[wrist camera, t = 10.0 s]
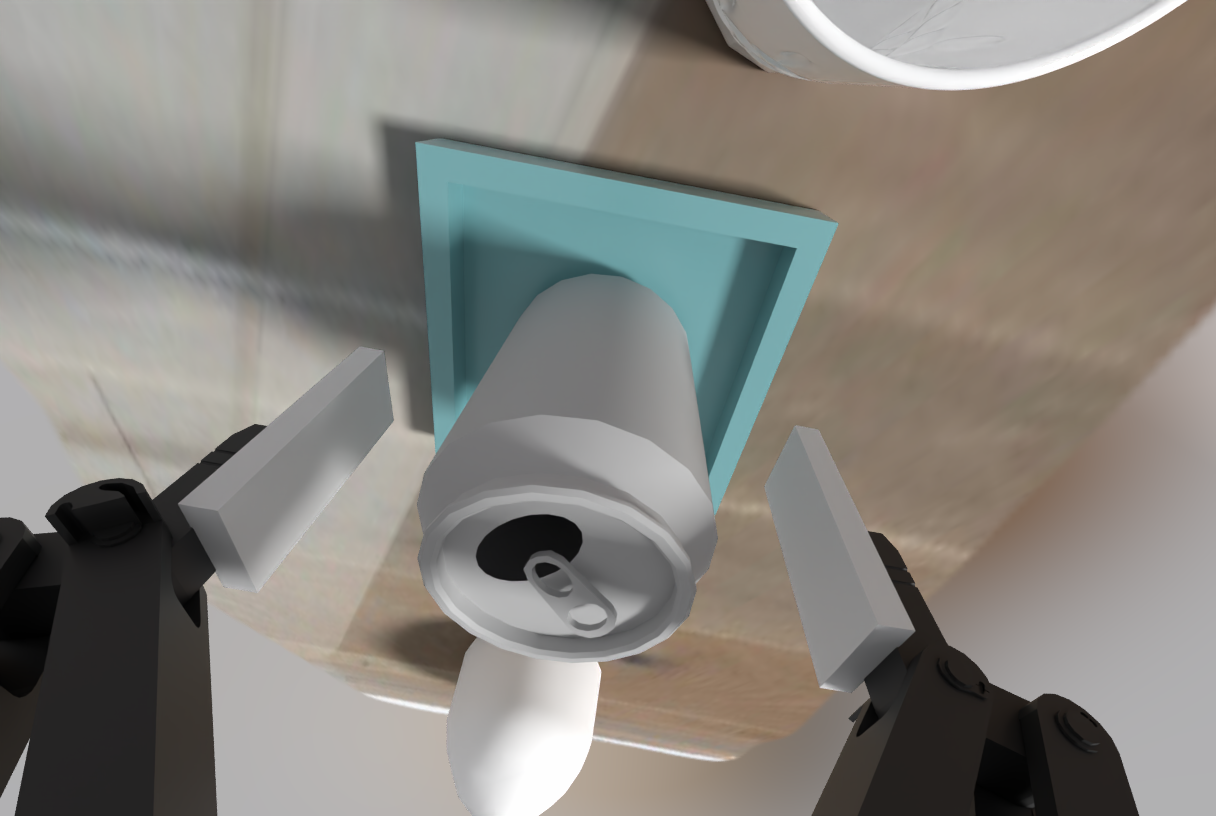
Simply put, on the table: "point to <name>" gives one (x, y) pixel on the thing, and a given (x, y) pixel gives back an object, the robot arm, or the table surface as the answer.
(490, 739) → the teardrop
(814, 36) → the white cup
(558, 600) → the can
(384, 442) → the table surface
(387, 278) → the table surface
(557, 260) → the tray
